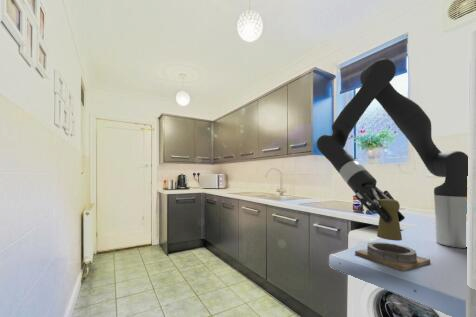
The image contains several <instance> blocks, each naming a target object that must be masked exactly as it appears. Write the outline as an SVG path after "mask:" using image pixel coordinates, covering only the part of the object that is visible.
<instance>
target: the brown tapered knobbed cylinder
mask: <svg viewBox="0 0 476 317" xmlns="http://www.w3.org/2000/svg"><path fill="white" fill-rule="evenodd" d="M380 203H381V205H382V208H384V209H385V210H386V211H387V212H388V213H389V214H390V215H391V216H392V218H393V220H392V221H391V222H389V223H386V222H385V221H384V220H383V219H382V218H381V217H380V216H379V218H378V227H377V233H376V236H377V237H378V238H380V239H383V240H388V241H397V242H398V241H403V237H402V230H401V225H400V222H399V218H398V212H397V211H400V208H401V207H400V205H401V204H400V203H399V201H398V200H396V199H394V200H393V199H381V200H380Z"/></svg>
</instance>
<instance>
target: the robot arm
mask: <svg viewBox="0 0 476 317" xmlns="http://www.w3.org/2000/svg"><path fill="white" fill-rule="evenodd" d="M396 71H397V67H396V64H395V63H394V62H393V60H392V59H389V58H381V59H377V60H375V61H374V62H372V63H371V64H369V65H368V66H367V67H365V68H364V69H362V71H361V73H360V77H359V80H360V83H361V87H360V88H359V89H358V91H357V93H355V95H354V96H353V97H352V98H351V99H350V101H349V102H348V103H347V104H346V105H345V106H344V107H343V109H342V110H341V111H340V113H339V114H338V116H337V117H336V118H335V120H334V122H333V123H332V125H331V130H332V134H322V135H321V136H319V137H318V138H317V140H316V148H317V149H318V151H319V153H321V155H323V156H324V158H326V159H327V161H328V162H330V163H331V165H332V166H333V168H334V169H335V170H336V171H337V172H338V174H339V175H340V176H341V178H342V180H344V182H345V183H346V185H348V187H349V188H350V189H351V190H352V192H353V193H354V194H355V195H354V197H355V198H356V199H357V201H359V202H360V203H361V204H362V205H363V207H365V209H367V210H368V211H370V212H372V211H373V213H377V214H378V216H379V218H380V217H381V218H382V219H383V220H384V221H385V222H386V223H389V222H391V221H392V220H393V218H392V216H391V215H390V214H389V213H388V212H387V211H386V210H385V209H384V208H382V205H381V203H380V200H381V199H393V200H395V199H394V197H393V196H392V195H391V193H390V192H389V191H388V190H384V191H382V190H381V189H380V188H378V187H377V182H378V181H377V179H376V178H375V177H374V176H373V175H372V173H370V172H369V170H367V169H366V168H365V166H363V165H362V164H361V163H360V162H358V161H357V160H356V159H355V157H353V155H351V154H350V153H349V152H348V151H347V150H346V149H345V147H346V143H347V141H348V138H349V135H350V134H351V132H352V131H353V130H354V128H355V126H356V125H357V124H358V122H359V120H360V119H361V117H362V116H363V114H364V113H365V112H366V111H367V109H368V108H369V107H370V105H371V104H372V102H373V101H374V100H376V101H377V102H378V103H379V104H380V106H381V107H382V108H383V110H384V111H385V112H386V113H387V115H388V116H389V118H391V120H392V121H393V123H394V124H395V125H396V127H397V128H398V129H399V130H400V132H401V133H402V134H403V135H404V136H405V137H406V139H407V140H408V142H409V143H410V145H411V146H412V147H413V148H414V150H415V151H416V152H417V154H418V156H419V158H420V159H421V161H422V162H423V164H424V166H425V168H426V169H427V171H429V172H430V173H431V174H432V175H433V176H435V177H438V178H445V179H444V182H443V183H441V184H440V185H437V186H436V187H434V188H433V199H434V200H433V202H434V220H435V223H434V224H435V237H436V238H435V240H436V241H435V242H436V243H437V244H440V245H443V246H448V247H454V248H460V249H467V248H466V214H467V176H468V157H469V156H468V154H466V153H465V152H463V151H460V150H459V151H458V150H456V151H445V152H444V151H443V152H442V151H441V150H440V149H439V148H438V147H437V145H436V144H435V143H434V141H433V139H432V121H431V120H430V119H431V118H429V116H428V115H427V113H426V112H425V111H424V110H423V109H422V107H421V106H420V105H419V104H417V103H416V102H415V101H413V100H412V99H410V98H409V97H406V96H405V95H403V94H401V93H400V92H399V91H397V90H396V89H395V88H394V86H393V84H391V81H392V80H393V79H394V78H395V76H396V73H397V72H396ZM397 212H398V218H399V223H400V222H402V221H404V220H405V219H406V218H405V216H404V215H403V214H402V212H400V210H398V211H397Z"/></svg>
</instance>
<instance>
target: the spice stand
mask: <svg viewBox="0 0 476 317" xmlns="http://www.w3.org/2000/svg"><path fill="white" fill-rule="evenodd" d="M354 255H356V256H359V257H362V258H364V259H367V260H369V261H373V262H374V263H375V262H376V263H379V264H381V265H384V266H387V267H390V268H392V269H396V270H398V271H402V272H405V271H408V270H411V269H412V270H413V269H415V268H419V267H422V266H426V265H429V264H431V259H429V258H426V257H421V256H418V255H417V251H416V250H415V249H413V248H410V247H409V246H404V245H401V244H396V243H390V242H383V241H382V242H381V241H379V242H378V241H373V242H368V243H367V247H366V248H365V249H359V250H355V251H354ZM404 270H405V271H404Z"/></svg>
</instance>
